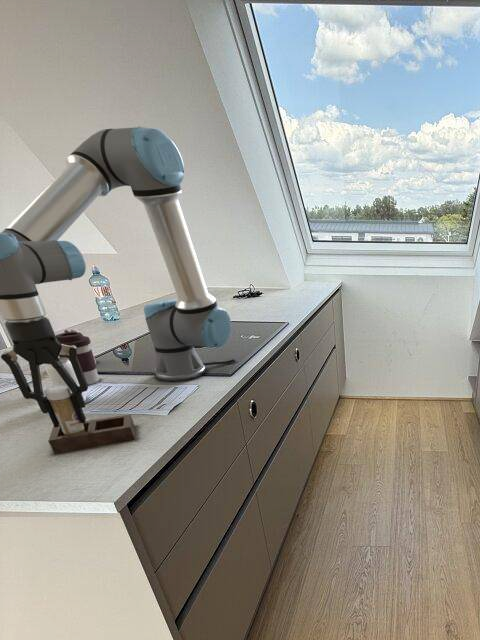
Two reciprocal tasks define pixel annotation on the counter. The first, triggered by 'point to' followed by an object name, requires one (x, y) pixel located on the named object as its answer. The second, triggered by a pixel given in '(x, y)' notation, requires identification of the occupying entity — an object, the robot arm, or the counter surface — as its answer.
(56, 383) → the can
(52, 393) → the sprinkles bottle
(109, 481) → the counter surface
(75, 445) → the holder
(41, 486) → the counter surface
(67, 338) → the coffee cup
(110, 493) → the counter surface
